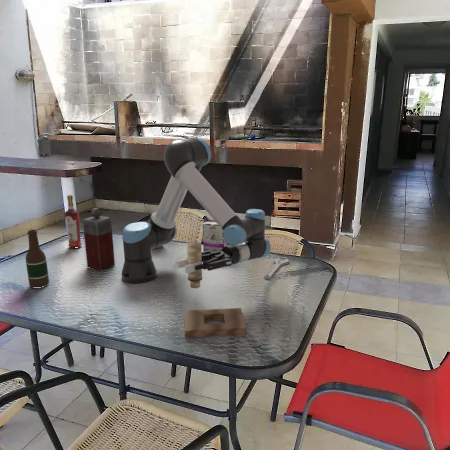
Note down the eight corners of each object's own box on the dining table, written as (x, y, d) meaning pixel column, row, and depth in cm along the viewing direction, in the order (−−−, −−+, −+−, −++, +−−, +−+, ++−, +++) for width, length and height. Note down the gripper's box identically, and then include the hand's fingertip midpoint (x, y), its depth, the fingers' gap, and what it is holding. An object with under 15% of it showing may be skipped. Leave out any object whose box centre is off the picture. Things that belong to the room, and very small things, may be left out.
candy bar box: (227, 254, 217) (227, 222, 212) (223, 257, 212) (223, 225, 208) (206, 251, 221) (206, 220, 216) (203, 254, 216) (202, 223, 211)
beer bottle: (53, 283, 183) (46, 229, 177) (38, 290, 176) (31, 234, 170) (40, 280, 186) (32, 227, 180) (25, 287, 180) (17, 232, 173)
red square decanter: (98, 260, 209) (93, 204, 201) (115, 265, 203) (110, 207, 195) (83, 266, 201) (77, 208, 194) (100, 271, 196) (95, 211, 188)
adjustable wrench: (269, 281, 185) (269, 277, 185) (255, 278, 188) (255, 274, 188) (290, 262, 206) (290, 258, 206) (277, 260, 209) (277, 256, 209)
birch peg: (188, 289, 155) (186, 247, 150) (188, 283, 160) (186, 242, 155) (202, 289, 155) (201, 246, 151) (202, 283, 160) (201, 242, 156)
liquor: (65, 249, 226) (59, 196, 218) (72, 244, 233) (66, 193, 225) (78, 249, 224) (72, 197, 217) (85, 245, 231) (79, 194, 224)
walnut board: (185, 337, 140) (184, 330, 140) (185, 316, 154) (184, 310, 153) (246, 334, 142) (246, 327, 141) (240, 314, 155) (240, 308, 155)
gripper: (249, 270, 159) (195, 285, 146) (221, 256, 173) (170, 269, 160) (249, 250, 157) (194, 264, 144) (221, 238, 171) (169, 249, 158)
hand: (181, 266), depth 152 cm, fingers closed on birch peg, 5 cm apart
